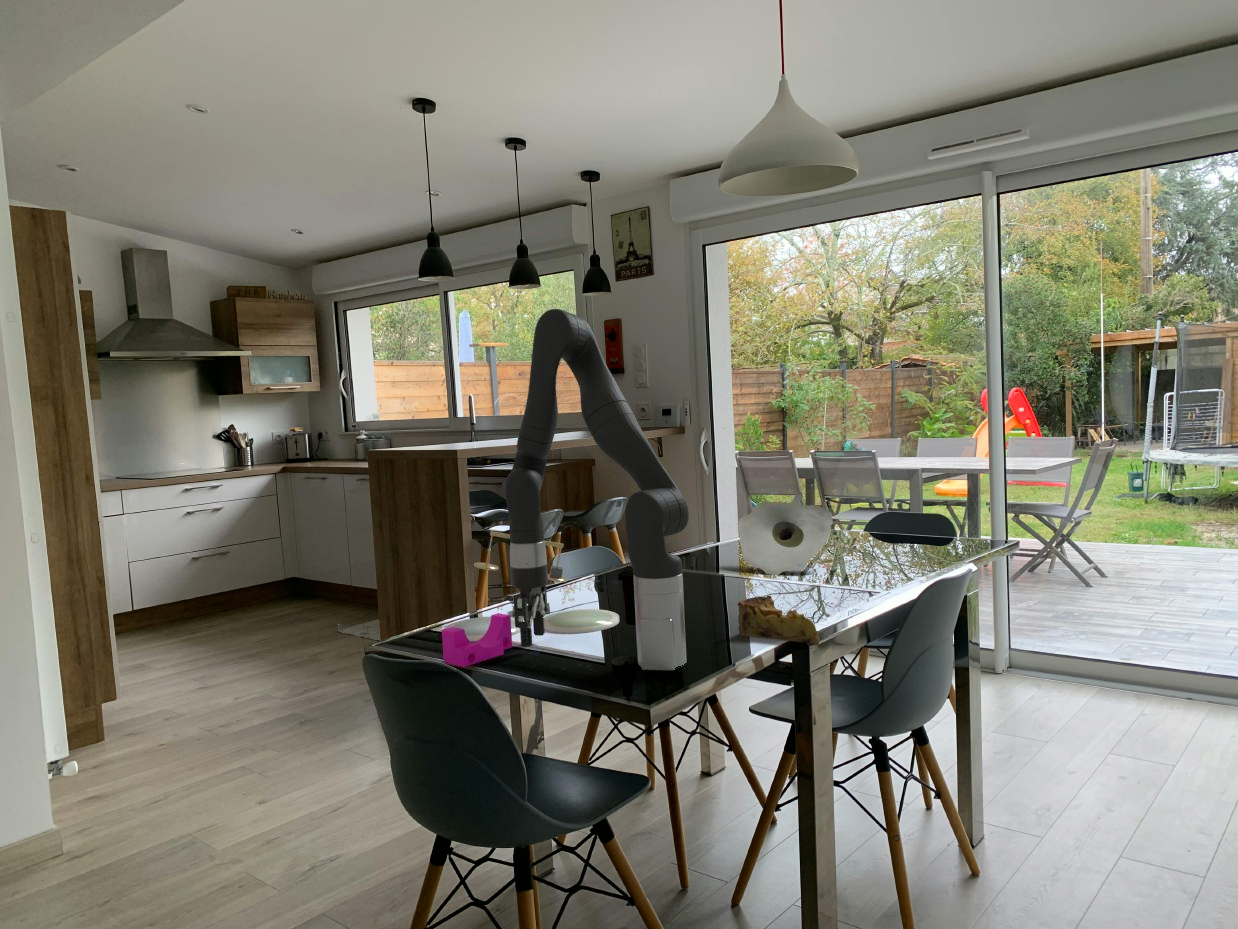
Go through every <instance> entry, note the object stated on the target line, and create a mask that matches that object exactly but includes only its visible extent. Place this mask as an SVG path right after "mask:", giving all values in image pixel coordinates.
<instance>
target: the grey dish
mask: <svg viewBox="0 0 1238 929" xmlns="http://www.w3.org/2000/svg"><path fill="white" fill-rule="evenodd" d="M490 621H491V615H489V616H479V617H472V618H466V619H461V620H458V621H454V622H452V623H450V624H448V625H446V626H445V627H444V628H443V629H446V628H450V627H456V628H461V629H464V630H465V634H466V636H467V638H468V640H469V641H470V642H472V643H474V642H477V641H478V640H480V639H481V638H482V637H483V636H484V635H485V633H486V632H487V630H488V628H489V625H490ZM511 632H512V636H515V635H517V634H519V633H520V628H516V627H515V617H513V616H512V617H511Z"/></svg>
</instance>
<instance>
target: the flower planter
mask: <svg viewBox="0 0 1238 929" xmlns="http://www.w3.org/2000/svg"><path fill="white" fill-rule="evenodd" d="M803 495H804V494H803V492H802V491H797V493H795V495H794V497H793V499H792V500H791V501H790V502H781V501H773V502H771V501H762V502H760V503H758V504H757V505H755V506H754V507H753V508H752V510H751V512H750V513H749V514H747V515H744V516H742V517H741V518H739V520H738V521H737V526H738V527H737V528H738V532H739V534H738V537H739V544H740V549H741V555H742V557H743V560H744V561H745V563H747V564H748V566H750V567H751V568H756V569H760V570H762V571H763V572H764V573H765V575H771V576H779V575H780V574H781V573H785V572H789V571H802V570H804V569H805V568H806V567H807V566H808V563H809V561H811V559H813V557H814V556H816V555H817V554H818V553H819V552H820V550H821V549H822V548H823V547H824V545H825V544H826V543H827V541H828V538H829V537H830V535H831V534H832V531H831V530H832V525H833V524H834V521H833V520H834V519H833V513H832V512H831V511H829V510H827V509H826V508H824V507H822V506H821V505H819V504H818V505H817V504H809V505H808V504H807V505H805V504H801V500H802V499H803Z"/></svg>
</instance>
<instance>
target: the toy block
mask: <svg viewBox="0 0 1238 929" xmlns="http://www.w3.org/2000/svg"><path fill="white" fill-rule="evenodd" d="M490 616H491V621H490V625H489V628H488V630H487V632H486V633H485V635H484V636H483V637H482V638H481V639H480V640H478V641H476V642H470V641H469V640H468V638H467V636H466V634H465V630H464V629H461V628H456V627H450V628H446V629H444V628H443V629H441V637H442V638H441V641H442V653H443V663H444V662H447V663H446V664H449V665H453V666H458V667H461V668H462V667H464V668H465V667H468V666H472V665H474V664H478V663H480V662H483V661H487V660H490V659H493V658H496V657H499V656H502V655H504V653H505V652H504V650H507V649H510V648H513V635H512V632H511V614H506V613H499V612H498V613H495V614H491V615H490Z"/></svg>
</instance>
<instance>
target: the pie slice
mask: <svg viewBox="0 0 1238 929" xmlns="http://www.w3.org/2000/svg"><path fill="white" fill-rule="evenodd" d="M737 606H738V616H737V617H738V632H739V636H742V637H749V638H761V639H770V640H781V641H789V642H797V643H798V642H799V643H807V644H814V645H816V644H817V645H818V644H819V643H820V640H821V639H820V637H819V635H820V634H819V632H818V630H817V628H816V625H815V623H814V622H813V621H812V620H811V619H810V618H808V617H807V618H806V616H805V614H804V613H803V614H799V613H798V611H797V610H796V609H793V610H791V609H790V610H789V611H787V612H786V614H785V615H783V610H782V609H778V608H776V606H775V601H774V599H773V598H772V596H771V595H766V596H754V597H749V598H747V599H745V600H742V601H739V602H738V603H737Z"/></svg>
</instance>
